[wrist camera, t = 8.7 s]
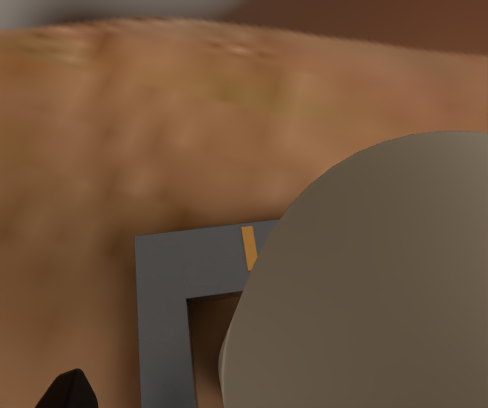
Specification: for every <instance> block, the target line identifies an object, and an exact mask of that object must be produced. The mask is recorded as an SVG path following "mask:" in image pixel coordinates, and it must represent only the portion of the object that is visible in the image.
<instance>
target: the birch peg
mask: <svg viewBox="0 0 488 408" xmlns="http://www.w3.org/2000/svg"><path fill="white" fill-rule="evenodd" d="M218 372H219V379H220V386H221V392H222V398H223V404H224V408H488V133H481V132H472V131H437V132H428V133H420V134H412V135H408V136H404V137H400V138H396V139H392V140H388V141H384V142H382V143H379V144H377V145H374V146H372V147H369V148H367V149H364V150H362V151H359V152H357V153H355V154H354V155H352V156H350V157H348V158H347V159H345V160H343V161H342V162H340V163H338V164H336V165H335V166H333V167H332V168H330V169H329V170H328V171H327V172H325V173H324V174H323V175H321V176H320V177H319V178H318V179H316V180H315V181H314V182H313V183H311V184H310V185H309V186H308V187H307V188H306V189H305V190H304V191H303V192H302V193H301V194H300V195H299V197H298V198H297V199H296V200H295V201H294V202H293V203H292V204H291V205H290V206H289V207H288V208H287V210H286V211H285V213H284V214H283V215H282V217H281V218H280V220H279V221H278V222H277V224H276V225H275V227H274V228H273V230H272V231H271V232H270V234H269V236H268V238H267V240H266V241H265V243H264V245H263V247H262V249H261V251H260V253H259V255H258V257H257V259H256V261H255V263H254V265H253V267H252V270H251V272H250V275H249V277H248V280H247V282H246V285H245V288H244V290H243V293H242V295H241V298H240V300H239V303H238V305H237V308H236V311H235V313H234V316H233V318H232V321H231V323H230V326H229V329H228V331H227V334H226V336H225V339H224V341H223V344H222V347H221V349H220V353H219V359H218Z"/></svg>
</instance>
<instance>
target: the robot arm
mask: <svg viewBox="0 0 488 408" xmlns="http://www.w3.org/2000/svg"><path fill="white" fill-rule="evenodd" d="M35 408H98V402H97V398H96V395H95V393H94V391H93V390H92V388H91V386H90V384H89V382H88V380H87V378H86V376H85V375H84V373H83V371H82V370H81V369H74V370H71V371H68V372H66V373H63V374H61V375H59V376H57V377H56V379H55V380H54V381H53V383H52V384H51V386H50V387H49V388H48V390H47V391H46V392H45V394H44V395H43V397H42V398H41V399H40V401H39V402H38V404H37V405H36V406H35Z"/></svg>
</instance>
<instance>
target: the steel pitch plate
mask: <svg viewBox="0 0 488 408" xmlns="http://www.w3.org/2000/svg"><path fill="white" fill-rule="evenodd" d="M279 220H280V219H277V220H268V221H260V222H251V223H243V224H234V225H226V226H217V227H209V228H200V229H192V230H183V231H175V232H166V233H158V234H149V235H140V236H134V239H135V264H136V289H137V314H138V339H139V364H140V389H141V408H198V404H197V393H196V382H195V371H194V360H193V349H192V338H191V327H190V315H189V304H188V303H196V302H203V301H210V300H217V299H224V298H231V297H238V296H241V295H242V293H243V290H244V288H245V285H246V282H247V280H248V277H249V275H250V272H251V270H252V267H253V265H254V263H255V261H256V259H257V257H258V255H259V253H260V251H261V249H262V247H263V245H264V243H265V241H266V240H267V238H268V236H269V234H270V232H271V231H272V230H273V228H274V227H275V225H276V224H277V222H278V221H279Z"/></svg>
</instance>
